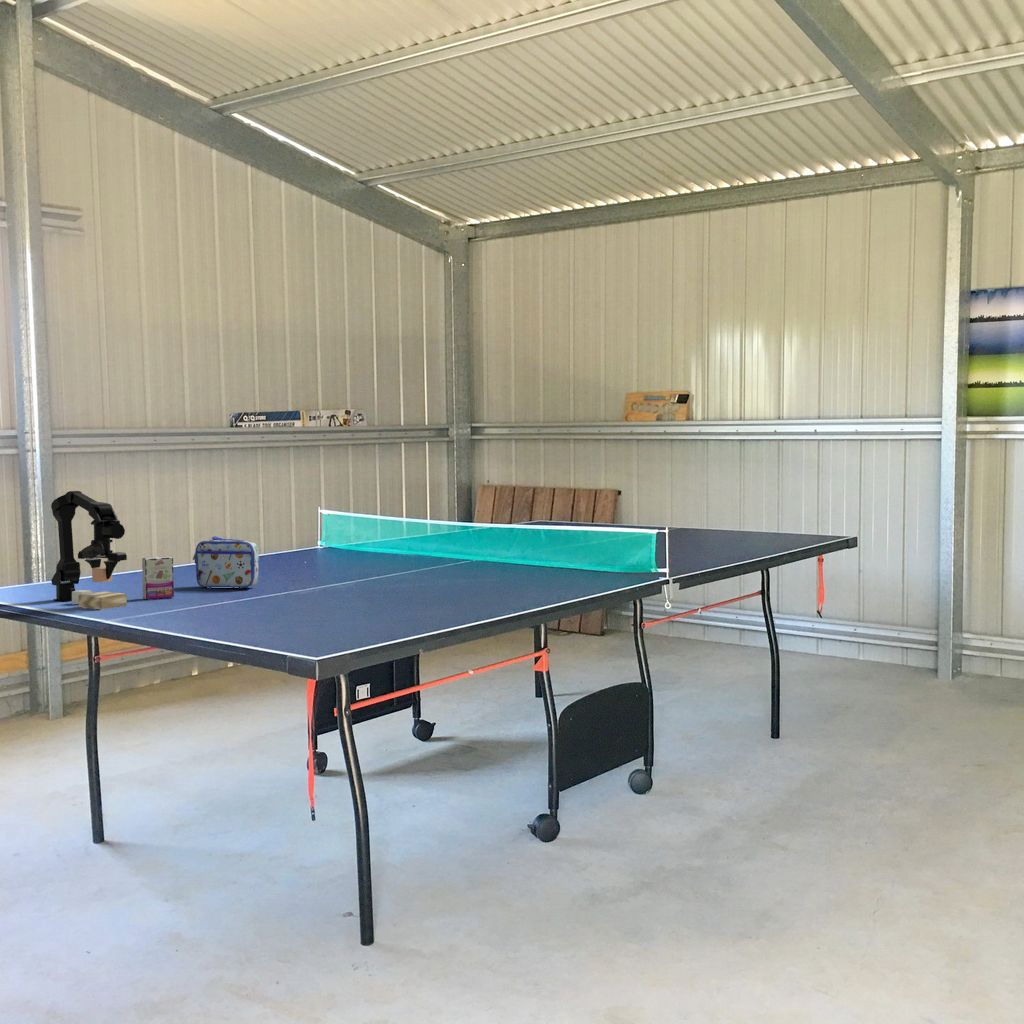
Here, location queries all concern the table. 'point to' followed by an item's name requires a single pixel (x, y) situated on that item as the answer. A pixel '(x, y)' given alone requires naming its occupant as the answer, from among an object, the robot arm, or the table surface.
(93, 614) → the table surface
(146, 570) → the candy bar box
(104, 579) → the terracotta cube
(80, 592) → the white cube
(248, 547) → the lunch box
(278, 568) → the table surface
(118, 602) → the maple block
